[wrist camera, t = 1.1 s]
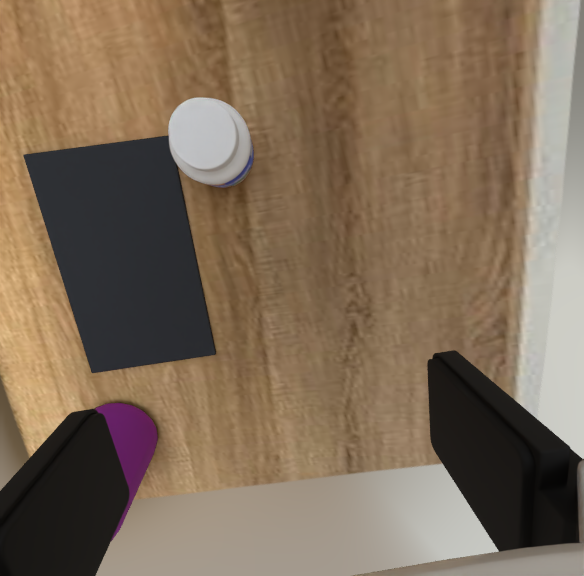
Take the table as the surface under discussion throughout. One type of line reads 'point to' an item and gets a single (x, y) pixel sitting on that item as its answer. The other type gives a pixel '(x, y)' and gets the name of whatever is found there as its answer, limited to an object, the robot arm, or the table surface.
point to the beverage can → (131, 443)
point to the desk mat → (124, 251)
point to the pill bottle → (210, 142)
